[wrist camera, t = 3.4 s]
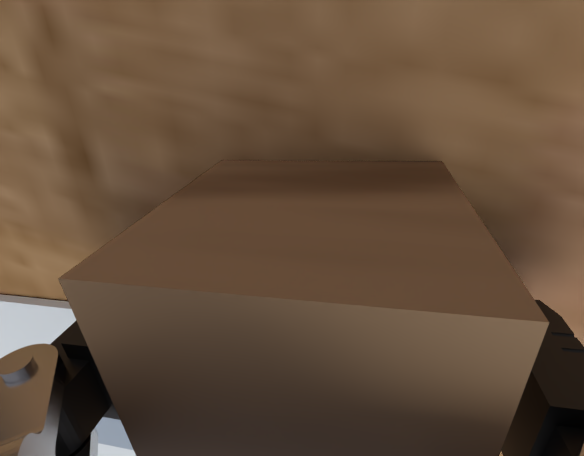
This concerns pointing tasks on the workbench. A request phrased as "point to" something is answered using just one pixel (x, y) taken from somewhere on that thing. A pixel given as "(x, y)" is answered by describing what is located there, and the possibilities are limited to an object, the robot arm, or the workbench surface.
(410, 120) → the workbench surface
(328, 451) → the walnut block
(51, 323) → the white square plate
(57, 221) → the workbench surface
